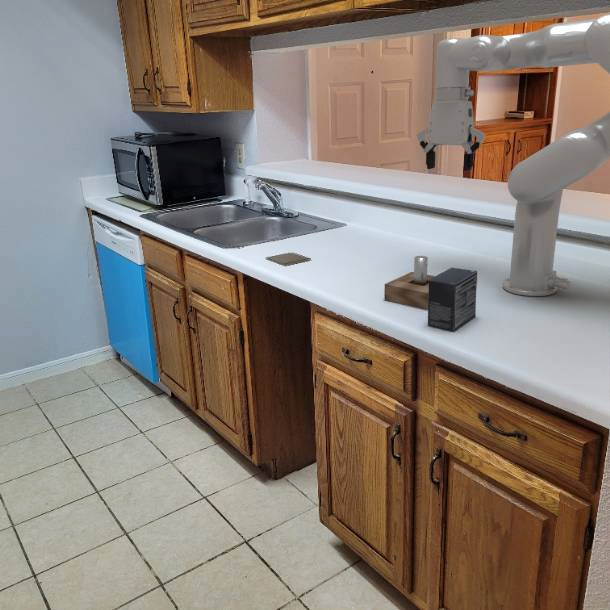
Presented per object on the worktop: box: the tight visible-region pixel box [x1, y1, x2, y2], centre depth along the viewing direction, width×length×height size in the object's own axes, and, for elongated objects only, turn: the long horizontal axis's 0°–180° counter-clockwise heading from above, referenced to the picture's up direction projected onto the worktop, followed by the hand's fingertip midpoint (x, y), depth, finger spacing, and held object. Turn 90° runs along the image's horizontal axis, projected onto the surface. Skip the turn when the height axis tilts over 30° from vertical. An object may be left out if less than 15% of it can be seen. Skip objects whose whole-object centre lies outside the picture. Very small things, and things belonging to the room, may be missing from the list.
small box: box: [427, 267, 478, 333], centre depth 127 cm, size 11×6×10 cm, turn 141°
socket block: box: [383, 271, 436, 311], centre depth 142 cm, size 12×12×4 cm
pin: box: [413, 255, 429, 286], centre depth 141 cm, size 3×3×10 cm
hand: (448, 169), depth 148 cm, fingers open, 9 cm apart
